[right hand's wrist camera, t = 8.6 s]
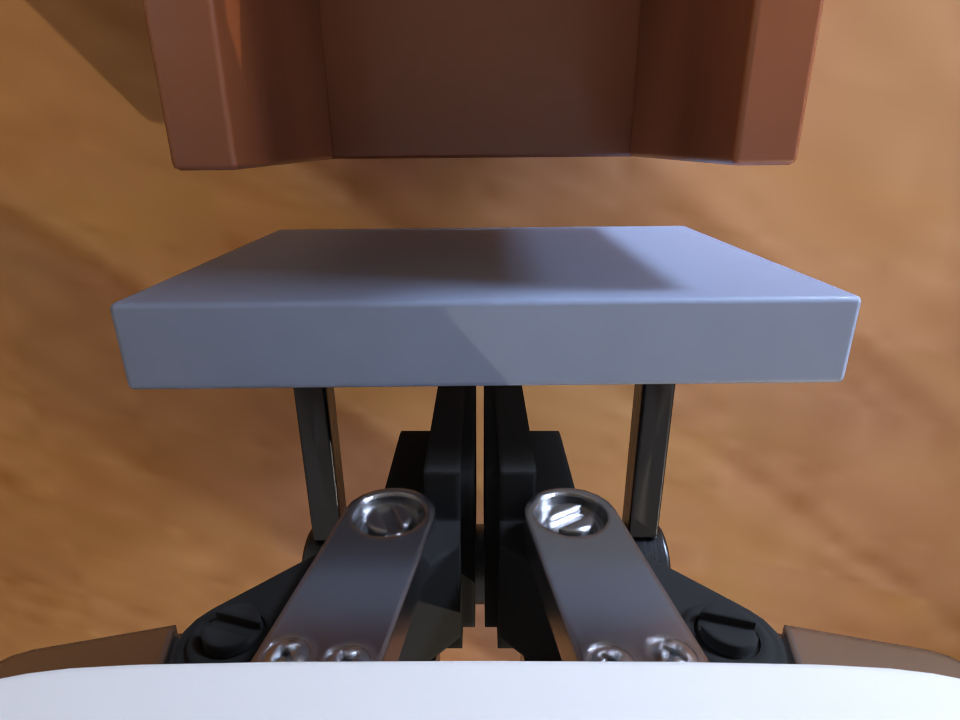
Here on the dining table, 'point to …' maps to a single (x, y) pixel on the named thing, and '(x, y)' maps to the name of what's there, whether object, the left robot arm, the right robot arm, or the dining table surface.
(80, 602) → the dining table surface
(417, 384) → the drawer
